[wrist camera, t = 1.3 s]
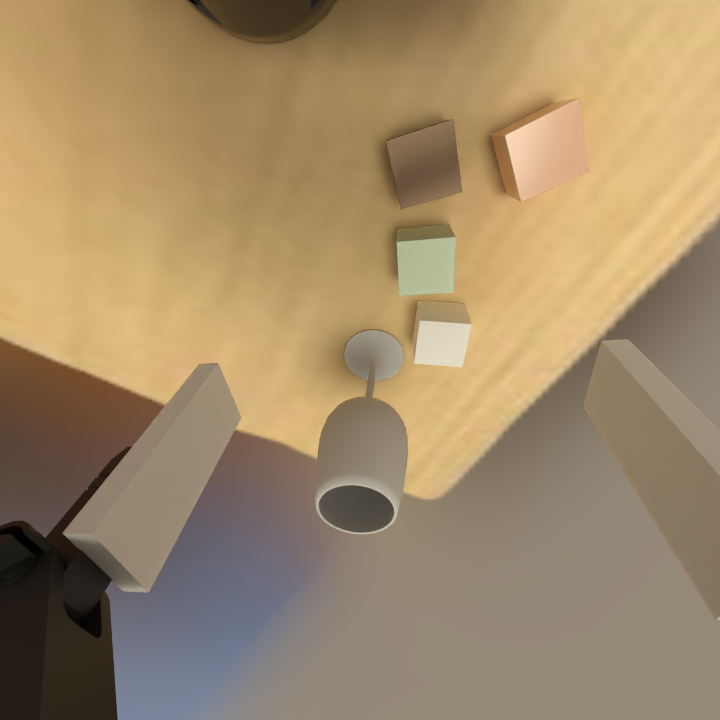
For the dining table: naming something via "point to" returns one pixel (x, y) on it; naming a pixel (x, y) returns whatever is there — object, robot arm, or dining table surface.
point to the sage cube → (426, 260)
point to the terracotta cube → (542, 150)
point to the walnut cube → (425, 164)
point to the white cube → (441, 333)
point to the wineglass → (363, 445)
